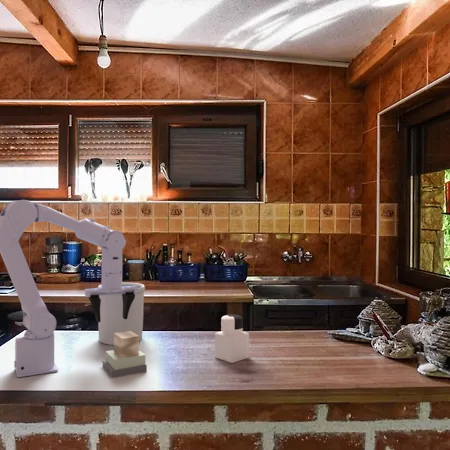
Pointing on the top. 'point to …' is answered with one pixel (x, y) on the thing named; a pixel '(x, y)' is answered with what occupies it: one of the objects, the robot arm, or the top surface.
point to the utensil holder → (120, 315)
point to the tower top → (124, 360)
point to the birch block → (126, 344)
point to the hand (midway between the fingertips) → (111, 320)
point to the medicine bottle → (231, 340)
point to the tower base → (123, 370)
